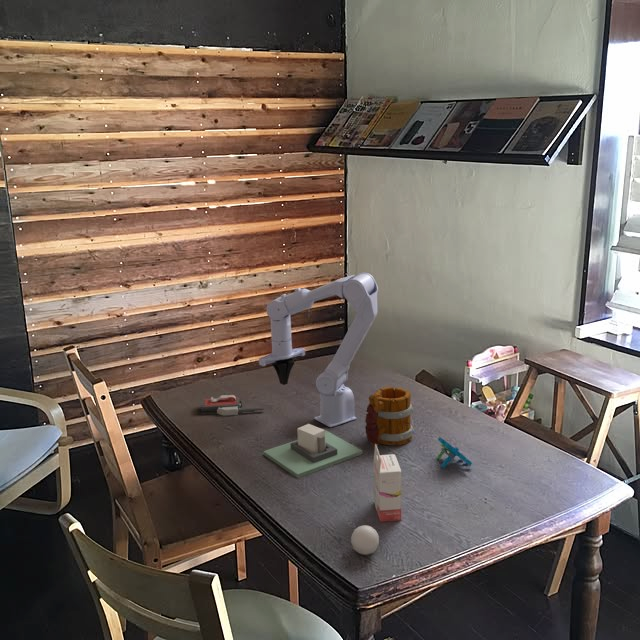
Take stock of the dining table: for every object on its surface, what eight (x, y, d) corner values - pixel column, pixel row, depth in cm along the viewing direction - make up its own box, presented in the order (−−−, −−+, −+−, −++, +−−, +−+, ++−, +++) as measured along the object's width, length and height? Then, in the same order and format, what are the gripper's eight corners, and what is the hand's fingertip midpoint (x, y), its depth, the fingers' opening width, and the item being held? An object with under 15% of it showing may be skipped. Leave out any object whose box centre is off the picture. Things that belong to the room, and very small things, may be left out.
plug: (303, 442, 191) (302, 421, 189) (328, 452, 184) (327, 431, 183) (292, 447, 188) (291, 426, 186) (317, 458, 182) (316, 436, 180)
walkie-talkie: (196, 419, 211) (264, 414, 213) (195, 405, 210) (264, 400, 212) (198, 407, 220) (264, 403, 221) (197, 394, 219) (263, 389, 220)
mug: (421, 436, 194) (421, 384, 190) (383, 457, 183) (383, 402, 179) (389, 425, 202) (389, 375, 197) (351, 445, 190) (350, 392, 186)
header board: (325, 433, 198) (325, 425, 197) (362, 454, 185) (362, 445, 184) (263, 454, 187) (263, 445, 186) (298, 478, 174) (297, 468, 173)
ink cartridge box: (402, 521, 154) (402, 458, 150) (379, 522, 154) (379, 460, 150) (395, 500, 163) (395, 440, 159) (373, 502, 162) (372, 442, 158)
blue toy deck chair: (480, 466, 173) (451, 442, 171) (464, 485, 173) (436, 461, 170) (461, 452, 184) (433, 429, 181) (446, 470, 184) (419, 447, 181)
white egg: (382, 559, 141) (381, 534, 140) (353, 561, 141) (352, 536, 139) (375, 537, 149) (374, 513, 147) (348, 539, 148) (347, 515, 147)
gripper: (294, 331, 213) (296, 374, 217) (252, 340, 205) (255, 385, 209) (308, 336, 207) (310, 380, 211) (265, 346, 199) (268, 392, 203)
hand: (283, 383), depth 210 cm, fingers closed
